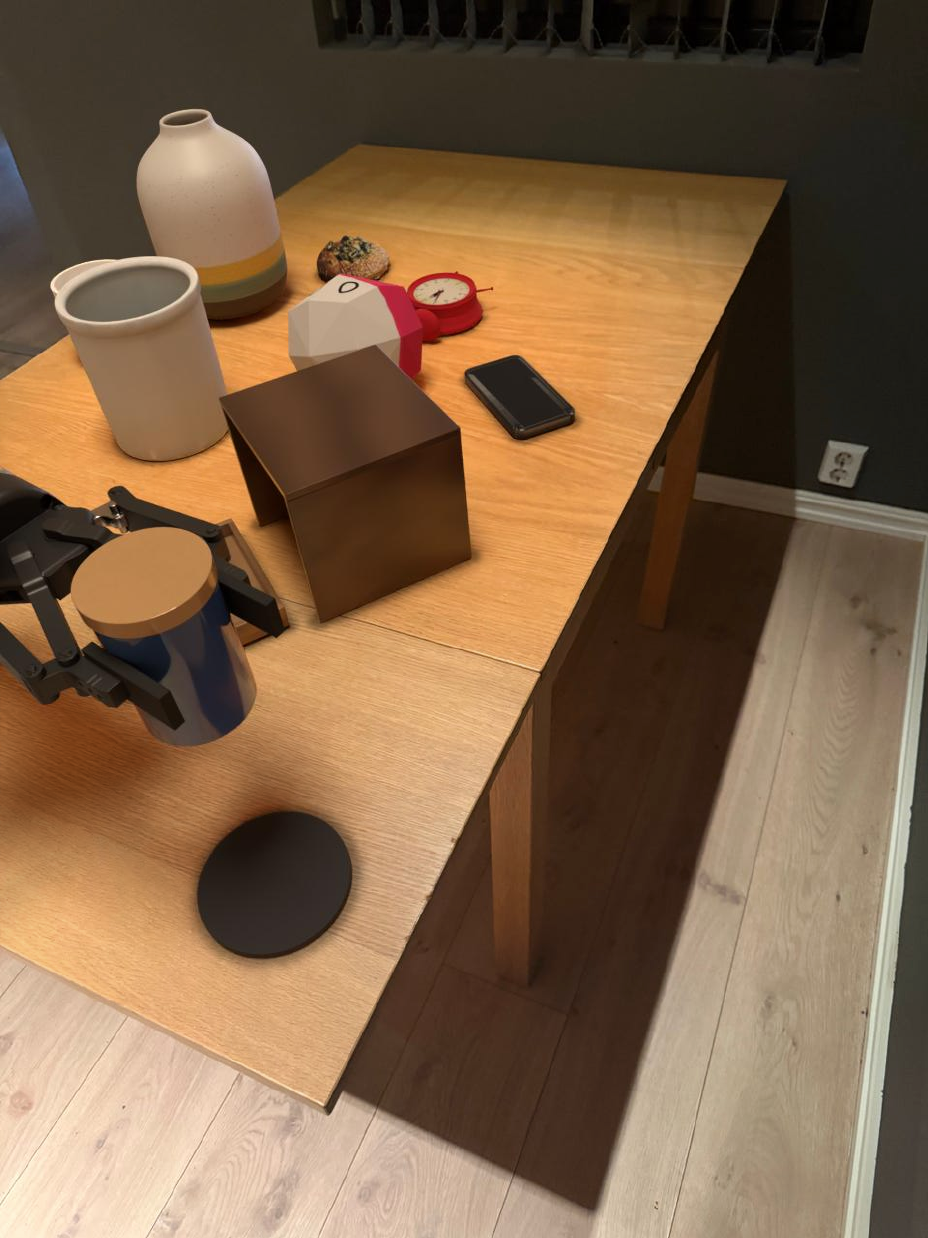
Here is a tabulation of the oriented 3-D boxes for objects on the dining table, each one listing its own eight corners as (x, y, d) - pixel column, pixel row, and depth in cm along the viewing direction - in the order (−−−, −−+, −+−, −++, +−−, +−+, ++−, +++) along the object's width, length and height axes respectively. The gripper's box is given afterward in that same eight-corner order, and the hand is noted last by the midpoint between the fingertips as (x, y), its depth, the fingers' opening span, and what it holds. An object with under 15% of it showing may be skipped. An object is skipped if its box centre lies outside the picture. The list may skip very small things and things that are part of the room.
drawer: (125, 695, 76) (114, 675, 74) (88, 594, 85) (77, 573, 83) (290, 625, 81) (283, 604, 79) (237, 535, 90) (230, 515, 88)
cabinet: (320, 623, 81) (284, 494, 70) (257, 523, 91) (218, 397, 81) (472, 558, 85) (460, 427, 75) (395, 469, 96) (375, 343, 85)
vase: (272, 333, 119) (224, 141, 101) (156, 330, 122) (90, 143, 104) (309, 275, 130) (271, 93, 113) (202, 273, 133) (150, 96, 116)
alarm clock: (503, 285, 116) (416, 302, 107) (498, 332, 120) (413, 352, 111) (450, 262, 121) (364, 277, 113) (447, 308, 125) (362, 326, 117)
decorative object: (432, 253, 99) (340, 277, 89) (457, 386, 106) (373, 422, 95) (340, 269, 109) (247, 292, 98) (368, 391, 115) (283, 424, 105)
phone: (516, 433, 97) (461, 370, 107) (517, 441, 98) (461, 378, 108) (579, 412, 99) (519, 352, 109) (579, 420, 100) (519, 360, 109)
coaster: (167, 902, 63) (164, 898, 62) (274, 791, 69) (272, 787, 68) (277, 990, 58) (275, 987, 58) (382, 862, 64) (381, 858, 63)
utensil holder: (265, 413, 106) (226, 271, 93) (173, 480, 98) (117, 335, 85) (180, 382, 112) (133, 244, 99) (87, 443, 104) (23, 302, 91)
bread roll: (302, 269, 131) (300, 234, 128) (363, 254, 137) (363, 220, 133) (344, 296, 125) (343, 260, 122) (407, 279, 131) (407, 245, 127)
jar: (114, 715, 56) (41, 588, 47) (203, 639, 60) (149, 510, 52) (196, 770, 52) (132, 644, 44) (285, 685, 56) (240, 556, 48)
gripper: (125, 487, 67) (354, 600, 57) (-122, 657, 56) (106, 833, 46) (88, 402, 62) (333, 509, 52) (-193, 572, 51) (48, 750, 41)
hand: (226, 662), depth 49 cm, fingers closed on jar, 7 cm apart
